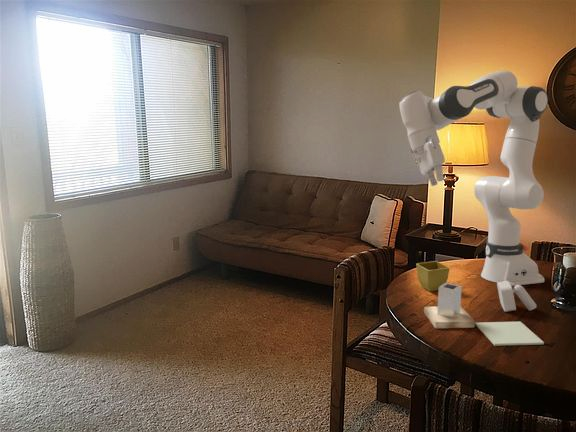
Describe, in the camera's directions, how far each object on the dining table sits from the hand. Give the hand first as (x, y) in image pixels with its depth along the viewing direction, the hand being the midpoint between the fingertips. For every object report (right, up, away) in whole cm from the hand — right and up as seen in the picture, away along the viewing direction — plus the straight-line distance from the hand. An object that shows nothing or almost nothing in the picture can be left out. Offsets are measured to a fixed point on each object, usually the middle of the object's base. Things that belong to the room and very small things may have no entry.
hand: (437, 183), depth 160 cm
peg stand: (+4, -43, +1) cm, 43 cm away
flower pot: (+6, -37, +27) cm, 46 cm away
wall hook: (+28, -41, +8) cm, 51 cm away
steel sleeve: (+3, -41, 0) cm, 41 cm away
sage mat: (+18, -45, -10) cm, 49 cm away
